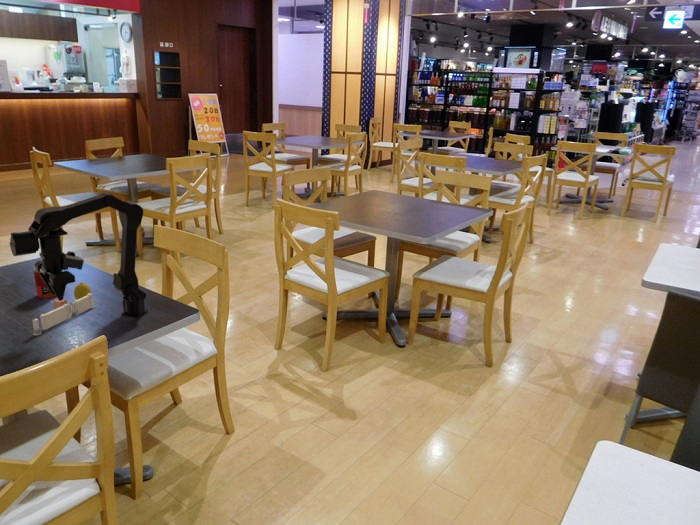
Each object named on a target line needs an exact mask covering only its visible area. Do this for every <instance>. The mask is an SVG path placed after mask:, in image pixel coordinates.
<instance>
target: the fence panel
mask: <svg viewBox="0 0 700 525" xmlns="http://www.w3.org/2000/svg"><path fill="white" fill-rule="evenodd" d="M93 295H94V294H93V293H91V294H90V293H88V294H87V296H84V297H82V298H80V299H78V300H76V299H75V300H74V301H73V302H75V308H76V315H77V314H78V315H79V314H81V313H84V312H86V311H88V310H90V309H94V308H95V306H94V305H95V304H94V296H93Z"/></svg>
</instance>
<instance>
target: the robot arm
mask: <svg viewBox="0 0 700 525" xmlns="http://www.w3.org/2000/svg"><path fill="white" fill-rule="evenodd" d="M105 208H111V209H114V210H115V211H118V213H117V214H118V219H119V222H120V224H121V229H122V230H121V250H120V264H119V266H120V267H119V270H118V272H117V273H115V272H113V273H112V274H113V275H112V276H113V281H112V285H113V286H114V289H115V290H116V291H117V292H118V293H120V294H121V295H122V296H123V297H122V309H123V312H122V313H121V316H123V317H129V318H133V319H137V318H139V317H141V316H143V315H144V314H146V313H148V312H149V310H148V309H146V308H145V300H146V297H147V293H146V292H145V291H143V290H142V289H140V287H139V286H140V285H139V279H138V275H137V273H136V257H137V256H136V255H137V243H138V242H137V238H138V237H137V236H138V230H139V227H140V226H141V224H142V220H143V217H144V209H143V207H142V206H141V205H139V204H137V203H135V202H133V201H131V200H122V199H120V198H117V197H116V196H115V195H113V194H111V193H109V192H102V193H100V194H98V195H95V196H92V197H88V198H86V199H83V200H79V201H76V202H72V203H70V204H67V205H62V206H61V205H60V206H51V207H50V206H49V207H42V208H39V209H38V210H36V211H35V214H34V217H33V221H32V222H31V224H30V226H29V227H28V229H27V231H21V232H20V231H19V232H16V231H15V232H11V233H10V238H9V241H10V242H9V247H10V251H11V253H12V255H13V257H19V256H23V255H24V256H25V255H30V254H36V253H37V252H38V251H39V249H40V252H39V257H40V258H41V260H37V261H36V262H35V263H34V267H35V270H36V271H37V272H40V269H41V273H39V275H40V276H41V278H42V279H43V281H44V282H45V284H46V285H47V287H48V288H49V290H50V291H51V293H52V294H53V295H56V296H57V297H56V299H58V300H59V301H61V300H63V299H64V298H65V293H66V292H65V291H66V288H67V285H68V284H73V283H76V275H75V274H73V273H72V272H71V271H69V268H70V269H76V270H80V271H82V269H83V266H84V262H85V259H83V258H82V257H80V256H79V255H76V253H75V252H74V251H71V250H68V251H67V252H66V253H64V252H63V248H62V247H63V245H62V239H61V236H67V235H69V234H68V232H67V231H66V230H64V229H63V228H62V227H63V226H65V225H66V224H67V223H68V222H69V221H72V220H74V219H76V218H79V217H82V216H85V215H88V214H90V213H94V212H97V211H100V210H103V209H105Z"/></svg>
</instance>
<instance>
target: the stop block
mask: <svg viewBox="0 0 700 525" xmlns="http://www.w3.org/2000/svg"><path fill="white" fill-rule="evenodd" d="M52 303H53V310H55V309H57V308H59V307H61V306H63V305H64V304H68V300H67V299H66V298H63V300H61V301H59V300H58V298H56V299H54V300H52Z"/></svg>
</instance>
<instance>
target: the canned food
mask: <svg viewBox="0 0 700 525" xmlns="http://www.w3.org/2000/svg"><path fill="white" fill-rule="evenodd" d="M39 273H41V269H40V272H37V271H36V270H35V266H34V267H33V275H34V277H33V278H34V282H35V283H34V284H35V288H36V294H37V297H38V298H40V299H42V300H47V299H53V298H57V296H56V295H53V294H52V293H51V291H50V290H49V288H48V287H47V285H46V284H45V282H44V281H43V279H42V278H41V276H40V275H39Z"/></svg>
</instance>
